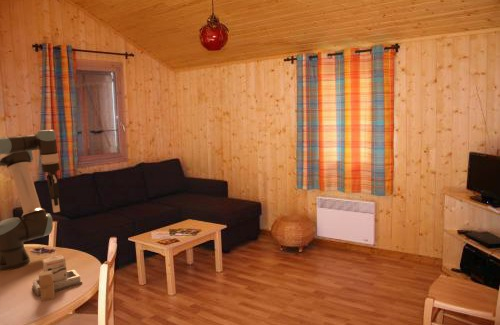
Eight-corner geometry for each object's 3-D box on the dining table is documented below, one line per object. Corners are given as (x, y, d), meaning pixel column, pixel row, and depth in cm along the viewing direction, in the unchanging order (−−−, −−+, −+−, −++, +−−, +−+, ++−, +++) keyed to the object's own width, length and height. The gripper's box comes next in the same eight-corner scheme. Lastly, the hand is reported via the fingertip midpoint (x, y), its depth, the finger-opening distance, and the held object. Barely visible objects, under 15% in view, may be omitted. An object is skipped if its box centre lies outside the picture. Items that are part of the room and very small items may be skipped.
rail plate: (32, 287, 183) (31, 280, 183) (74, 275, 194) (73, 268, 194) (38, 297, 174) (36, 289, 173) (82, 283, 185) (81, 276, 184)
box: (41, 301, 170) (37, 276, 168) (41, 297, 173) (38, 272, 172) (55, 298, 172) (51, 273, 170) (55, 294, 176) (52, 269, 174)
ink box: (47, 288, 179) (44, 262, 177) (45, 284, 183) (41, 259, 181) (68, 282, 184) (65, 257, 182) (65, 279, 188) (62, 254, 186)
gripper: (38, 162, 196) (45, 210, 200) (44, 165, 186) (51, 216, 190) (55, 160, 201) (61, 207, 204) (62, 163, 191) (68, 212, 194)
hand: (56, 211), depth 197 cm, fingers closed
